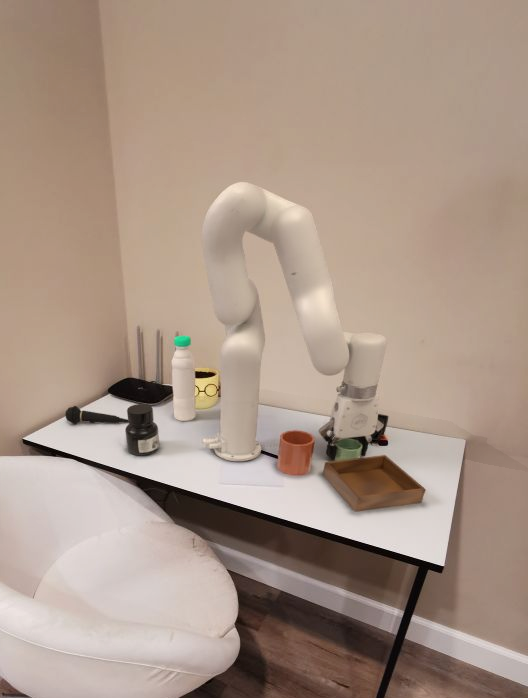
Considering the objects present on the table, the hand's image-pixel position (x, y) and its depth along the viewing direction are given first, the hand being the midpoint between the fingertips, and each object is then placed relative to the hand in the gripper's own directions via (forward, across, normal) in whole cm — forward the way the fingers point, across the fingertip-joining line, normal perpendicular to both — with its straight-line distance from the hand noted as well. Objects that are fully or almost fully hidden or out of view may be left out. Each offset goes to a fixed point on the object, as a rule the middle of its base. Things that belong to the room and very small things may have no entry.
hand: (345, 455), depth 109 cm
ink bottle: (+1, -50, +18) cm, 53 cm away
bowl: (+1, 0, 0) cm, 1 cm away
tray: (+1, -1, -14) cm, 14 cm away
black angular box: (+1, +11, +11) cm, 16 cm away
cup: (+1, -14, -1) cm, 14 cm away
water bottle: (+1, -35, +36) cm, 50 cm away
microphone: (+1, -63, +38) cm, 74 cm away
